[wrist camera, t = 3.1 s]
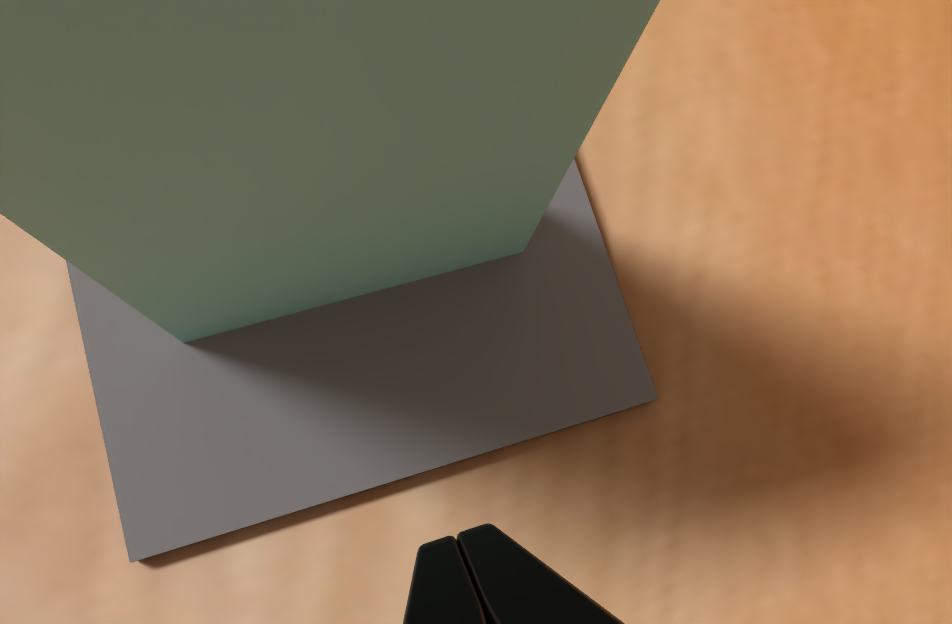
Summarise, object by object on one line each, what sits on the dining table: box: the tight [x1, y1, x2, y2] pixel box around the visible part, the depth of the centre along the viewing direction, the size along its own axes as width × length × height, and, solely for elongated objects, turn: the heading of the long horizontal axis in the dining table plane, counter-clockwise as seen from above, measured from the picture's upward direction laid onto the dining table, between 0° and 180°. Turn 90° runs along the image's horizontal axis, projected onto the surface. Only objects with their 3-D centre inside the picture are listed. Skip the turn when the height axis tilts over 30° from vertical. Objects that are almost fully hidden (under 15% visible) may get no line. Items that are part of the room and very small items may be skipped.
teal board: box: [0, 0, 660, 343], centre depth 12 cm, size 2×8×12 cm, turn 107°
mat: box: [66, 159, 658, 563], centre depth 19 cm, size 18×12×1 cm, turn 17°
